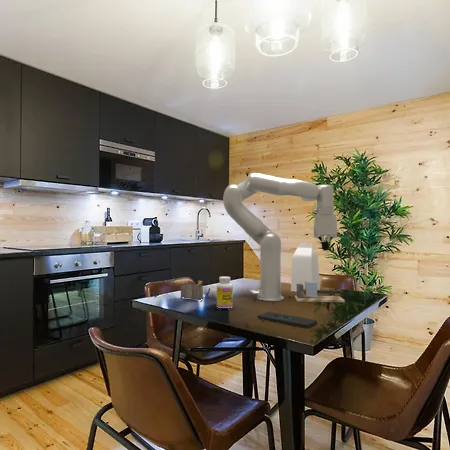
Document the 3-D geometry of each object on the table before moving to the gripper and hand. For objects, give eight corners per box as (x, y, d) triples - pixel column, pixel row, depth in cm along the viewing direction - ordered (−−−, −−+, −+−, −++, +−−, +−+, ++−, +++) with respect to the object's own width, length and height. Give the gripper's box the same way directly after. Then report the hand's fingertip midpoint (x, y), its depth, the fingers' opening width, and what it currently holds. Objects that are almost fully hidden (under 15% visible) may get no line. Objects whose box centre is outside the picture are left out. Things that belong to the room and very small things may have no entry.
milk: (290, 291, 180) (290, 242, 180) (299, 288, 189) (298, 242, 190) (312, 293, 173) (312, 243, 174) (320, 290, 183) (319, 242, 183)
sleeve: (306, 296, 156) (306, 282, 156) (304, 295, 160) (304, 281, 160) (317, 296, 155) (317, 282, 155) (315, 295, 159) (315, 281, 159)
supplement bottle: (221, 310, 135) (221, 278, 136) (214, 307, 141) (214, 276, 141) (235, 309, 138) (235, 277, 139) (228, 305, 144) (228, 275, 144)
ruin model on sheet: (203, 301, 155) (203, 280, 155) (199, 302, 153) (199, 281, 153) (185, 298, 162) (185, 278, 162) (180, 299, 159) (180, 279, 159)
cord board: (297, 301, 154) (297, 286, 154) (295, 297, 162) (294, 283, 163) (344, 302, 152) (344, 286, 152) (339, 298, 161) (339, 283, 161)
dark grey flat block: (268, 311, 130) (317, 319, 117) (268, 315, 129) (317, 324, 117) (256, 315, 123) (307, 324, 111) (256, 320, 123) (307, 330, 110)
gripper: (310, 211, 155) (310, 250, 154) (343, 210, 153) (343, 251, 153) (307, 212, 162) (307, 250, 162) (339, 211, 161) (339, 250, 160)
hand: (325, 250), depth 157 cm, fingers closed
